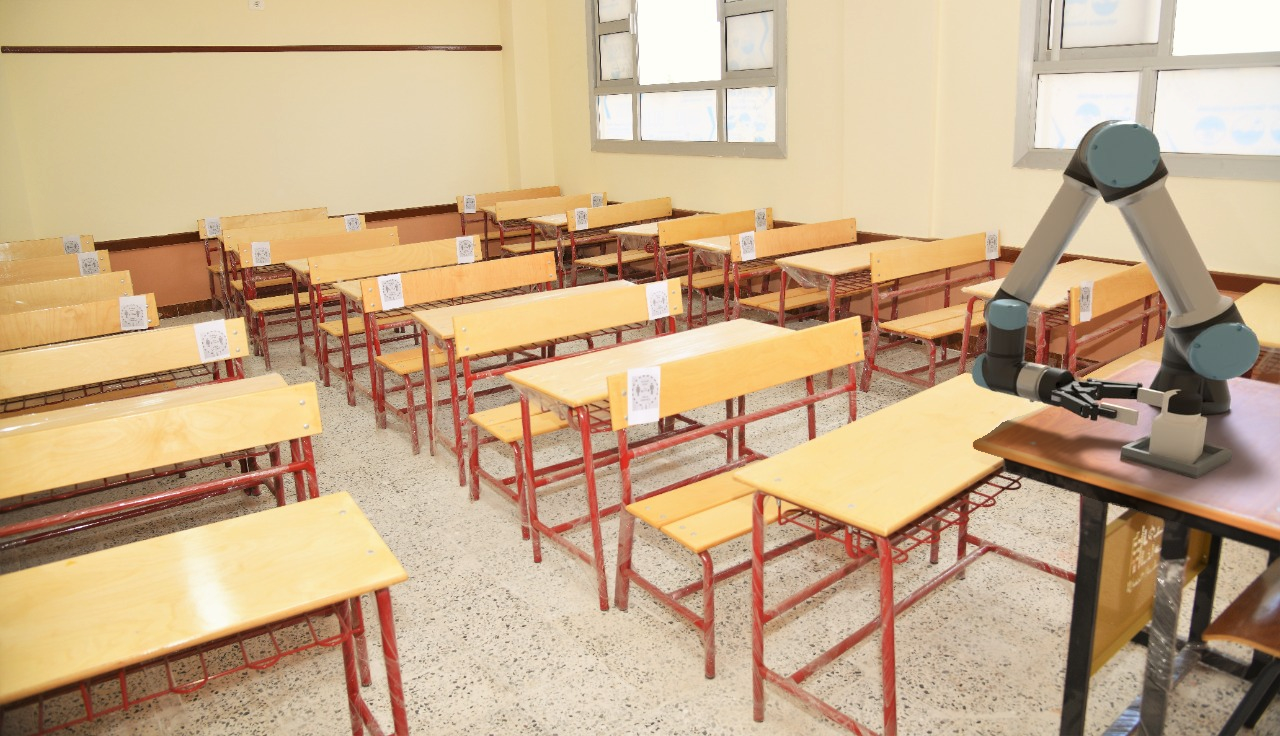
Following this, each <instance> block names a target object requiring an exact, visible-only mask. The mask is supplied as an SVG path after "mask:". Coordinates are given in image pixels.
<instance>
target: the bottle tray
mask: <svg viewBox="0 0 1280 736" xmlns="http://www.w3.org/2000/svg"><path fill="white" fill-rule="evenodd" d="M1150 437H1151V433H1150V434H1148V435H1145V436H1143V437H1141V438H1138V439H1136V440H1134V441H1132V442H1130V443H1128V444H1125V445H1123V446H1121V449H1120V456H1119V457H1120V458H1122V457H1123V458H1122V459H1125V458H1126V460H1130V461H1133V462H1137V463H1140V464H1143V465H1146V464H1147V466H1151V467H1154V468H1158V469H1160V470H1164V469H1165V471H1168V472H1172V473H1176V474H1178V475H1182V476H1185V477H1189V478H1193V479H1198V478H1200V477H1202V476H1203V475H1205V474H1208V473H1209V472H1210V471H1212V470H1215V469H1217V468H1218V467H1220V466H1223V465H1224V464H1226V463H1228V462H1230V461H1231V460H1232V454H1233V449H1230V448H1226V447H1223V446H1220V445H1215V444H1210V443H1207V442H1204V445H1203V452H1202V454H1201V455H1200V456H1199V458H1198V459H1197V460H1196V461H1195V462H1194V463H1193V464H1190V463H1186V462H1183V461H1179V460H1175V459H1172V458H1168V457H1164V456H1161V455H1157V454H1153V453H1150V452H1149V445H1150Z"/></svg>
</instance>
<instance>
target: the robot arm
mask: <svg viewBox="0 0 1280 736" xmlns="http://www.w3.org/2000/svg"><path fill="white" fill-rule="evenodd" d="M1169 175H1170V173H1169V170H1168V168H1167V166H1166V164H1165V162H1164V160H1163V158H1162V156H1161V146H1160V143H1159V139H1158V138H1157V135H1156V134H1155V133H1154V132H1153V131H1152V130H1151V129H1150V128H1149V127H1147V126H1146V125H1145V124H1143V123H1140V122H1137V121H1134V120H1130V119H1129V120H1125V119H1124V120H1123V119H1122V120H1119V119H1110V120H1105V121H1102V122H1100V123H1097V124H1095V125H1094V126H1092V127H1091V128H1089V130H1088V131H1086V133H1084V135H1083V137H1081V140H1080V141H1079V143H1078V145H1077V147H1076V149H1075V151H1074V154H1073V155H1072V157H1071V159H1070V161H1069V163H1068V165H1067V166H1066V168H1065V169H1064V171H1063V172H1062V174H1061V176H1062V179H1063V183H1062V184H1061V186H1060V188H1059V189H1058V191H1057V193H1056V194H1055V196H1054V198H1053V199H1052V200H1051V202H1050V203H1049V206H1048V207H1047V209H1046V211H1045V212H1044V214H1043V215H1042V217H1041V219H1040V221H1038V224H1037V225H1036V226H1035V228H1034V230H1033V232H1032V233H1031V235H1030V237H1029V238H1028V240H1027V241H1026V243H1025V245H1024V247H1023V248H1022V250H1021V251H1020V253H1019V255H1018V257H1017V258H1016V260H1015V262H1014V263H1013V264H1012V266H1011V267H1010V270H1009V271H1008V273H1007V275H1006V276H1005V277H1004V280H1002V282H1001V284H1000V286H999V289H998V290H997V291H996V292H995V294H994V296H992V297H991V298H990V299H989V300H988V301H987V302H986V304H985V307H984V310H983V318H984V320H985V321H984V322H985V324H986V328H987V329H986V330H987V334H986V336H987V337H986V339H987V340H986V351H985V352H983V353H981V354H979V355H978V356H977V357H976V358H975V359H974V362H973V364H974V365H973V366H972V368H971V377H972V380H973V382H974V384H975V385H977V386H978V387H981V388H983V389H987V390H990V391H991V392H995V393H1002V394H1006V395H1009V396H1013V397H1017V398H1022V399H1027V400H1029V402H1030V403H1034V402H1037V403H1039V402H1040V403H1043V404H1045V405H1049V406H1053V407H1057V408H1063V409H1065V410H1067V411H1069V412H1071V413H1073V414H1075V415H1077V416H1079V417H1080V418H1083V419H1090V421H1093V422H1095V421H1096V422H1097V421H1098V418H1102V419H1106V420H1109V421H1110V420H1111V421H1114V422H1118V423H1121V424H1126V425H1130V426H1134V427H1136V426H1137V425H1138V420H1139V412H1140V411H1139V410H1137V409H1133V408H1129V407H1124V406H1121V405H1116V404H1113V403H1112V404H1111V403H1108V402H1100V403H1099V402H1098V401H1102V399H1110V400H1111V399H1113V400H1115V399H1117V400H1135V401H1136V402H1137V403H1142V404H1147V405H1149V406H1150V405H1151V406H1154V407H1158V408H1161V409H1162V402H1163V395H1164V393H1165V392H1167V391H1171V390H1188V391H1192V392H1195V393H1197V394H1199V395H1201V397H1202V398H1203V401H1202V408H1201V415H1216V414H1217V415H1218V414H1222V413H1225V412H1226V413H1227V412H1228V411H1229V410H1230V409H1231V401H1232V398H1231V397H1232V396H1231V392H1230V389H1229V384H1228V381H1229V380H1232V379H1235V378H1238V377H1240V376H1242V375H1243V374H1245V373H1246V372H1248V371H1249V370H1251V368H1252V367H1253V366H1254V365H1255V363H1256V362H1257V360H1258V358H1259V355H1260V351H1261V348H1260V346H1261V345H1260V341H1259V340H1258V336H1257V334H1256V332H1254V331H1253V330H1252V328H1250V327H1249V326H1247V324H1246V322H1245V321H1244V319H1243V317H1242V315H1241V313H1240V311H1239V309H1238V307H1237V305H1236V303H1235V301H1234V299H1233V298H1232V297H1230V296H1227V295H1224V294H1220V292H1219V291H1218V288H1217V286H1216V284H1215V282H1214V280H1213V278H1212V276H1211V274H1210V272H1209V270H1208V268H1207V266H1206V264H1205V262H1204V261H1203V259H1202V256H1201V254H1200V253H1199V251H1198V248H1197V247H1196V244H1195V243H1194V240H1193V238H1192V237H1191V235H1190V233H1189V231H1188V229H1187V227H1186V225H1185V223H1184V221H1183V219H1182V217H1181V214H1180V212H1179V211H1178V208H1177V206H1176V205H1175V203H1174V201H1173V199H1172V197H1171V195H1170V193H1169V190H1168V189H1167V187H1166V181H1167V179H1168V177H1169ZM1100 198H1103V201H1104V203H1105V204H1107V205H1110V206H1114V207H1117V208H1118V211H1119V213H1120V215H1121V217H1122V219H1123V220H1124V223H1125V224H1126V226H1127V228H1128V230H1129V233H1130V235H1131V237H1132V238H1133V240H1134V243H1135V245H1136V246H1137V248H1138V250H1139V252H1140V254H1141V256H1142V257H1143V260H1144V261H1145V264H1146V266H1147V267H1148V270H1149V271H1150V273H1151V276H1152V277H1153V279H1154V281H1155V283H1156V285H1157V288H1158V289H1159V291H1160V293H1161V295H1162V296H1163V299H1164V300H1165V302H1166V304H1167V310H1166V320H1165V329H1164V335H1163V344H1162V345H1163V346H1162V353H1161V362H1160V365H1159V368H1158V370H1157V372H1156V374H1155V376H1154V378H1153V380H1152V382H1151V383H1150V386H1149V387H1148V388H1146V387H1143V383H1142V382H1140V381H1139V382H1138V381H1137V382H1128V381H1127V382H1126V381H1118V380H1117V381H1115V380H1106V379H1097V378H1092V377H1088V378H1086V380H1083V379H1081V380H1078V381H1077V380H1076V379H1075V378H1074V374H1073V373H1072V372H1071V371H1070V370H1068V369H1063V368H1059V367H1051V366H1049V365H1045V364H1042V363H1035V362H1031V361H1026V360H1025V354H1026V351H1025V349H1026V342H1027V341H1026V339H1027V330H1028V322H1029V320H1030V318H1029V309H1030V307H1031V305H1032V304H1033V302H1034V300H1035V299H1036V297H1037V296H1038V294H1039V292H1040V291H1041V289H1042V288H1043V286H1044V284H1046V281H1047V280H1048V278H1049V276H1050V275H1051V274H1052V272H1053V271H1054V268H1055V267H1056V266H1057V264H1058V263H1059V261H1060V260H1061V258H1062V257H1063V254H1064V253H1065V251H1066V250H1067V249H1068V247H1069V246H1070V245H1071V243H1072V241H1073V239H1074V237H1075V236H1076V234H1077V233H1078V231H1079V230H1080V228H1081V227H1082V225H1083V223H1084V222H1085V220H1086V218H1087V217H1088V215H1089V214H1090V213H1091V211H1092V209H1093V208H1094V207H1095V204H1096V203H1097V201H1098V200H1099V199H1100Z"/></svg>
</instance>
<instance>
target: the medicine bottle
mask: <svg viewBox="0 0 1280 736" xmlns="http://www.w3.org/2000/svg"><path fill="white" fill-rule="evenodd" d="M1202 401H1203V398H1202V397H1201V395H1199V394H1197V393H1195V392H1192V391H1188V390H1171V391H1167V392H1165V393H1164V395H1163V402H1162V408H1161V412H1160V413H1159V414H1158V415H1157V416H1156V417H1154V419H1152V423H1151V431H1150V434H1151V437H1150V445H1149V452H1150V453H1153V454H1157V455H1161V456H1164V457H1168V458H1172V459H1175V460H1179V461H1183V462H1186V463H1190V464H1193V463H1194V462H1195V461H1196V460H1197V459H1198V458H1199V456H1200V455H1201V454H1202V452H1203V445H1204V443H1205V437H1206V429H1207V424H1208V418H1207V417H1205V416H1201V415H1202V414H1201V408H1202Z"/></svg>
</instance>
